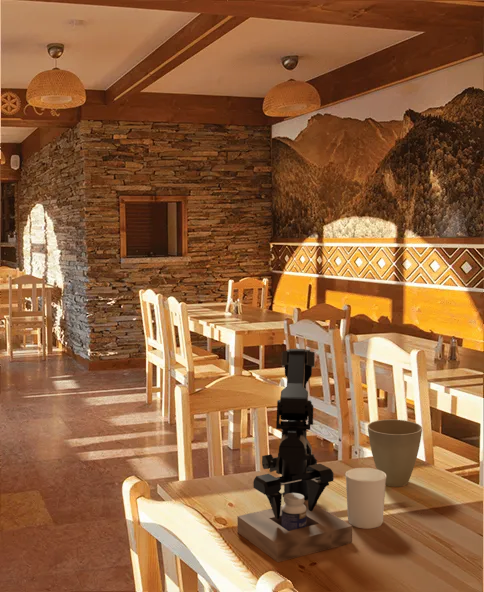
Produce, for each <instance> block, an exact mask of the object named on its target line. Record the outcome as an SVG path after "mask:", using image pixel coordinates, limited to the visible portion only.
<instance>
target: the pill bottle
mask: <svg viewBox="0 0 484 592" xmlns="http://www.w3.org/2000/svg"><path fill="white" fill-rule="evenodd" d="M304 501H305V500H304V496H303V495H302V494H299V493H288V494H285V495H284V496H283V502H284V504H283V505H281V506H282V527H283V528H285V529H286V530H288V531H291V530H295V529H299V528H303V527H306V506H305V505H304V504H303V503H304Z"/></svg>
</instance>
